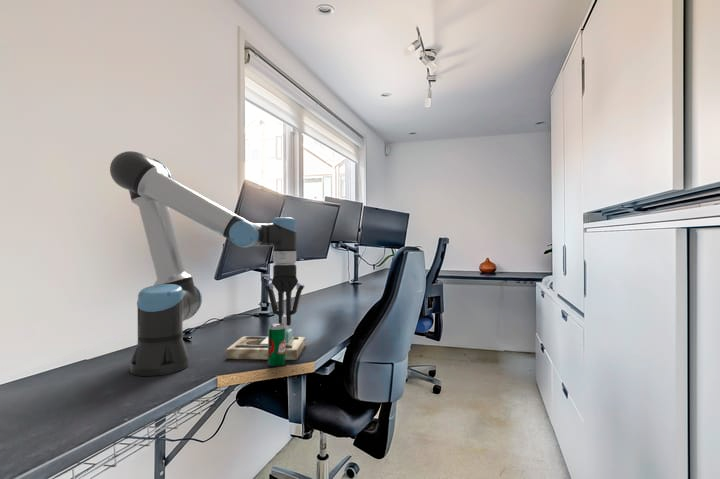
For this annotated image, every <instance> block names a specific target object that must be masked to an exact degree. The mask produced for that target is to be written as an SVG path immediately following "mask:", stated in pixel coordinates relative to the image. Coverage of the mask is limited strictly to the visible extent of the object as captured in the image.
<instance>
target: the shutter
mask: <svg viewBox="0 0 720 479" xmlns="http://www.w3.org/2000/svg"><path fill="white" fill-rule="evenodd" d="M293 335H294V329H293V328H288V331H287V332H286V345H290V343H291V342H292V341H293V339H294V337H295V336H293ZM266 337H267V338H266V339H264V340H263V341H262V342H261V343H260V345H268V336H266Z"/></svg>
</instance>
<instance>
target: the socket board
mask: <svg viewBox="0 0 720 479" xmlns="http://www.w3.org/2000/svg"><path fill="white" fill-rule="evenodd" d="M267 337H268V336H261V335H260V336H259V335H257V336H256V335H255V336H253V335H250V336H247V335H245V336H242V337H240V338H239V339H238V340H236V341H235V342H234V343H233V344H231V345H230V346H229V347H227V348H226V360H227V359H230V360H268V345H260V343H261V342H262V341H263V340H264V339H266V338H267ZM293 337H294V339H293V341H292V342H291V343H290V345H285V361H286V360H290V361H292V360H293V361H294V360H296V361H297V360H298V358H299V357H300V355H301V353H302V352H303V350H304V349H305V347H306V337H305V336H293Z"/></svg>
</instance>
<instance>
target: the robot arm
mask: <svg viewBox="0 0 720 479" xmlns="http://www.w3.org/2000/svg"><path fill="white" fill-rule="evenodd" d="M109 174H110V176H111V178H112V180H113V181H114V183H115V184H116V185H117V186H119V187H121V188H123V189H125V190H128V192H129V196H130V200H131V203H133V204H134V205H136V206H137V207H138V210H139V213H140V216H141V217H140V218H141V221H142V225H143V229H144V232H145V236H146V240H147V244H148V247H149V251H150V257H151V260H152V264H153V268H154V271H155V275H156V281H155V282H154V283H153V284H152V285H150V286H147V287H145V288H143V289H141V290H140V291H139V292H138V294H137V301H136V307H137V344H136V346H135V349H134V353H133V356H132V357H131V361H130V363H129V364H130V366H129V369H130V370H129V372H130V374H132V375H135V376H138V377H139V376H142V377H153V376H156V377H157V376H163V375H169V374H173V373H176V372H179V371H181V370H184V369H185V368H187V367H189V364H190V356H189V353H188V351H187V350H188V349H187V347H186V344H185V342H184V340H183V332H184V331H183V322H185V321H188V320H189V319H191V318H192V317H194V316H195V315H196V313H198V312H199V310H200V308H201V306H202V302H203V295H202V293H201V291H200V289H199V288H198V287H197V286H196V285H195V282H194V280H193V276H192V275H191V274H189V273H188V272H187V271H186V268H185V264H184V259H183V256H182V252H181V248H180V244H179V241H178V236H177V233H176V229H175V225H174V221H173V217H172V213H171V209H172V210H174V211H175V212H178V213H180V214H181V215H183V216H185V217H186V218H189V219H191V220H193V221H194V222H196V223H198V224H200V225H202V226H204V228H207V229H208V230H211V231H212V232H215V233H217V234H218V235H220V236H221V237H224V238H225V239H228V240H229V241H231V242H232V244H234V245H235V246H236V247H239V248H244V249H245V248H246V249H247V248H250V247H272V248H273V249H272V250H273V252H272V255H273V256H272V257H273V258H272V260H273V264H274V265H273V267H272V271H273V273H272V276H273V278H272V280H271V282H270V283H268V284H266V285H265V286H264V288H265V290H266V291H267V293H268V298H269V301H270V305H271V311H272V314H273V315H277V316H278V323H283V324H284V326H285V328H286V332H287V331H288V330H289V326H291V325H292V324H291V323H292V315H295V314H296V313H297V312H298V307H299V303H300V299H301V294H302V291H303V290H304V289H305V285H304V284H301V283H300V282H299V280H298V278H297V277H298V276H297V265H296V263H297V220H296V218H294V217H286V216H285V217H283V216H281V217H279V216H277V217H274V218H273V219H272V222H271V223H259V222H256V223H255V222H251V221H249V220H247V219H245V218H244V217H241V216H240V215H238V214H236V213H234V212H232V211H231V210H230V209H229V210H228V209H227V208H225V207H223V206H221V205H220V204H218V203H216V202H215V201H212V200H210V199H209V198H207V197H205V196H204V195H201V194H199V192H196V191H195V190H192V189H191V188H188V187H187V186H185V185H183V184H182V183H180V182H178V181H176V180H175V179H173V178H172V175H171V171H170V170H169V169H168V167H167V166H166V165H164V164H163V163H162V162H161V161H159V160H157V159H156V158H151V157H149V156H147V155H145V154H143V153H142V152H138V151H135V150H134V151H131V150H129V151H123V152H120V153H118V154H117V155H116V156H114V158H113V159H112V160H111V162H110V166H109ZM274 288H275V289H276V291H277V295H278V296H277V297H278V304H277V301H276V300H277V299H276V295H275V292H274ZM295 288H296V293H295V296H294V301H293V304H292V291H293V290H294V289H295ZM284 295H285V297H284ZM284 300H285V301H286V302H284ZM284 304H285V305H284ZM284 306H285V307H286V308H285V307H284ZM284 308H285V312H286V313H285V312H284Z"/></svg>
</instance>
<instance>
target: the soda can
mask: <svg viewBox="0 0 720 479" xmlns="http://www.w3.org/2000/svg"><path fill="white" fill-rule="evenodd" d="M267 337H268V359H267V363H268V366H269V367H272V368H273V367H274V368H278V367H279V368H280V367H283V366H284V365H285V364H286V360H285V345H286V328H285V326H284V324H283V323H279V322H274V323H270V324H269V327H268V330H267Z"/></svg>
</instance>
